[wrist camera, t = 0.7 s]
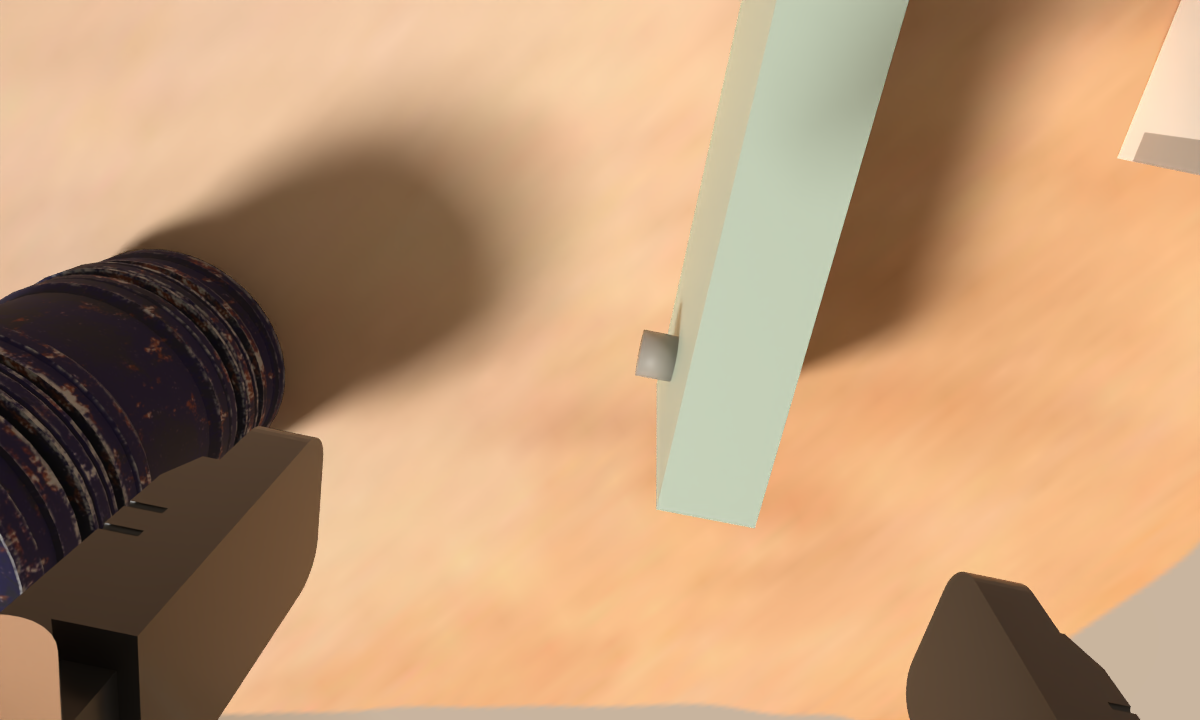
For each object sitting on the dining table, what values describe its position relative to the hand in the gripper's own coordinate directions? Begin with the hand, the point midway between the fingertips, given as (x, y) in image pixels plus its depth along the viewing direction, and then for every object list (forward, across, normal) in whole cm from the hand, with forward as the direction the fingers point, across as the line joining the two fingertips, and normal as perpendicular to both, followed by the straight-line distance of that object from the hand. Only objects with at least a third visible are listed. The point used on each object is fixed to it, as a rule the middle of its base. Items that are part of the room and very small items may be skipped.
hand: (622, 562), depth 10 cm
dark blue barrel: (+22, +18, +10) cm, 31 cm away
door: (+22, -3, -3) cm, 23 cm away
